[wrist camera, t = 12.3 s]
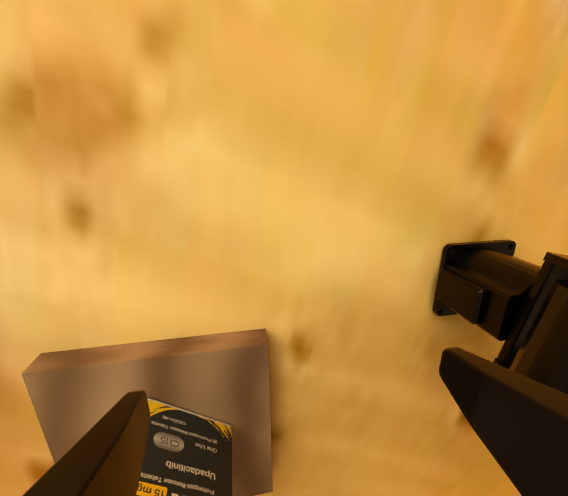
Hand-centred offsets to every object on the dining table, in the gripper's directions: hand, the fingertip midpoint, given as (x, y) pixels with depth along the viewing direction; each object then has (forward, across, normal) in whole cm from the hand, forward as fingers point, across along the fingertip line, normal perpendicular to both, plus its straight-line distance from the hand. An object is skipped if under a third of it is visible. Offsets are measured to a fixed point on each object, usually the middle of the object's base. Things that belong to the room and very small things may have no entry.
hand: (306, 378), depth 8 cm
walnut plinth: (+13, +8, +15) cm, 21 cm away
